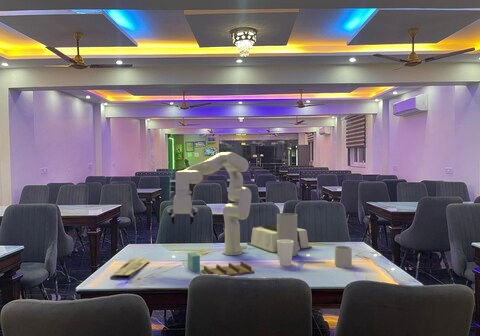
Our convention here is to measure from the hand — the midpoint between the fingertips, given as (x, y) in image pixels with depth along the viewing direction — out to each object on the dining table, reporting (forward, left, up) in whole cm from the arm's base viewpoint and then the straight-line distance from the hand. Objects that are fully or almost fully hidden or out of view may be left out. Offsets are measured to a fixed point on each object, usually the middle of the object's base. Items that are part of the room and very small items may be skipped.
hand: (182, 224), depth 206 cm
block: (-4, +7, -24) cm, 25 cm away
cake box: (-75, -23, -24) cm, 82 cm away
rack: (-18, +21, -24) cm, 36 cm away
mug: (-81, +37, -24) cm, 92 cm away
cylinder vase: (-66, +2, -24) cm, 70 cm away
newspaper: (+26, -7, -24) cm, 37 cm away
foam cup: (-53, +21, -24) cm, 62 cm away
